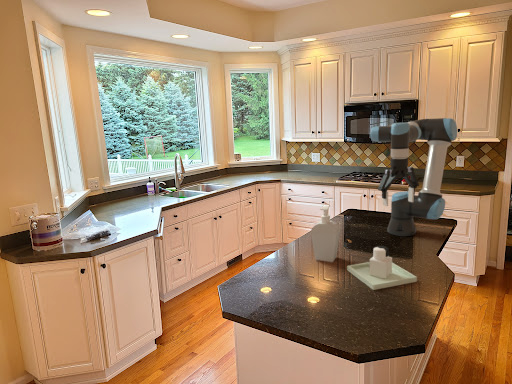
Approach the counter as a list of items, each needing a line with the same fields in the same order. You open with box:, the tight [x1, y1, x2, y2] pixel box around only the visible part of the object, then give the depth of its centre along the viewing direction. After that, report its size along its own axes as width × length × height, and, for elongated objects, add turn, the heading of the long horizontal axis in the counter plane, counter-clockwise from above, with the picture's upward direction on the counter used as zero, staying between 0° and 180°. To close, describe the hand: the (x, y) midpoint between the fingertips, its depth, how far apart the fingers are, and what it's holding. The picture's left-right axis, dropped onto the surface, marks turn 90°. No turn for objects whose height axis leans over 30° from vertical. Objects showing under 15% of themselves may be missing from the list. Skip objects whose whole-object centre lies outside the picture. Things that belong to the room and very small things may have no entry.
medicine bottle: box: [368, 245, 393, 279], centre depth 151 cm, size 7×7×12 cm
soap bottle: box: [310, 204, 342, 263], centre depth 171 cm, size 12×10×26 cm
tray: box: [346, 261, 418, 291], centre depth 152 cm, size 20×20×2 cm
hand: (398, 203), depth 167 cm, fingers open, 13 cm apart
